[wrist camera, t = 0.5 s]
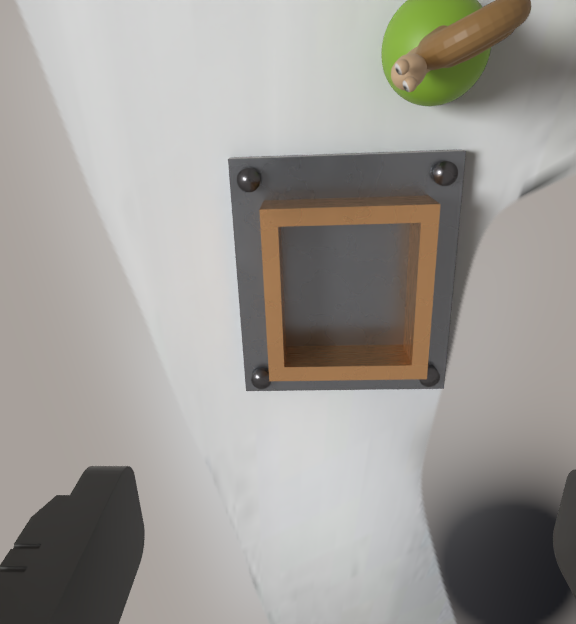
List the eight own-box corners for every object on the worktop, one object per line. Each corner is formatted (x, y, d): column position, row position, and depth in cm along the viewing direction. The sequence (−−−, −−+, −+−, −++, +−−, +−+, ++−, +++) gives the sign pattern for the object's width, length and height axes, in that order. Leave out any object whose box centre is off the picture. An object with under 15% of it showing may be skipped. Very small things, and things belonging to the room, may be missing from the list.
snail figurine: (343, 44, 28) (366, 4, 17) (449, -23, 27) (548, -114, 16) (385, 133, 30) (431, 148, 19) (487, 73, 29) (600, 52, 18)
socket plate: (230, 157, 31) (219, 164, 27) (461, 149, 30) (482, 155, 27) (247, 383, 37) (241, 414, 33) (440, 381, 36) (455, 412, 33)
